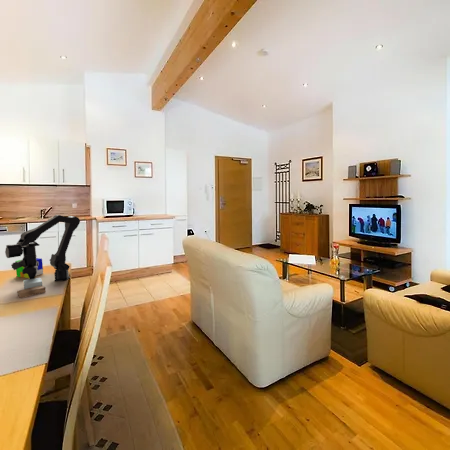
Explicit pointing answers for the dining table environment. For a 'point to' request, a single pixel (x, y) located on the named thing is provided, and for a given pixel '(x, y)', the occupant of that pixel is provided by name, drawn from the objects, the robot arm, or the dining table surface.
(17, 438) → the dining table surface
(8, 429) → the dining table surface
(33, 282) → the block
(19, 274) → the puzzle toy
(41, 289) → the board
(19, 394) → the dining table surface
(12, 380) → the dining table surface
